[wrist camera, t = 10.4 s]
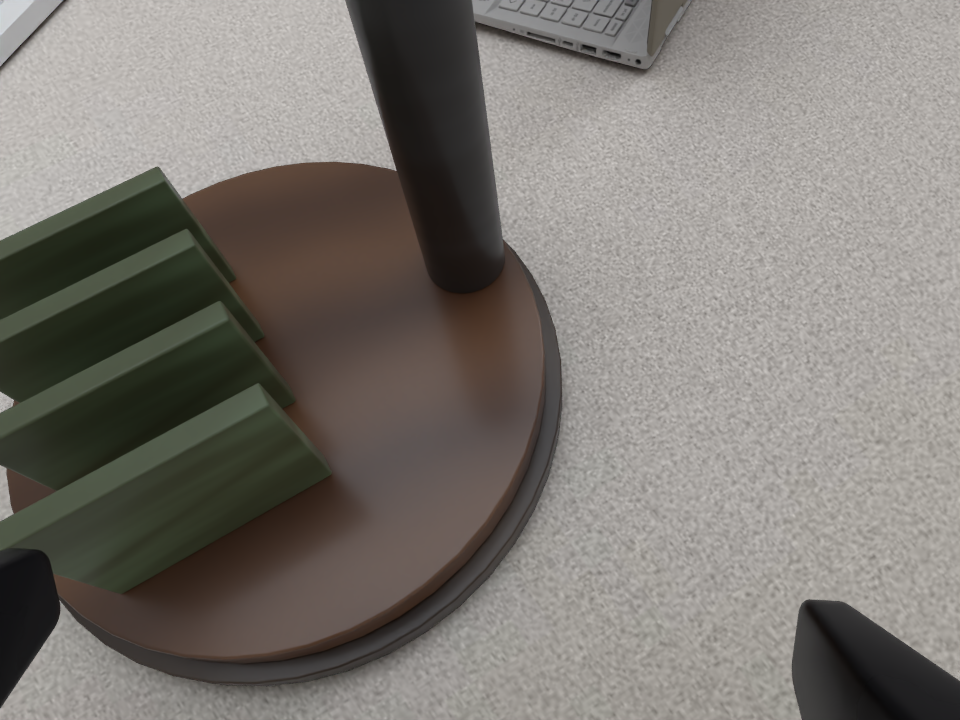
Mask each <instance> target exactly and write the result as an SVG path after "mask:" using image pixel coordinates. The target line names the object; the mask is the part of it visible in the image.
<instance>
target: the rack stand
mask: <svg viewBox="0 0 960 720" xmlns="http://www.w3.org/2000/svg"><path fill="white" fill-rule="evenodd" d="M506 244H507V243H506ZM507 245H508V244H507ZM508 247H509V248H510V250H511V251H512V253H513V255H514V256H515V258H516V259H517V261H518V262H519V264H520V265H521V267H522V269H523V272H524V274H525V276H526V278H527V280H528V282H529V285H530V287H531V289H532V291H533V294H534V298H535V301H536V305H537V308H538V312H539V315H540V319H541V325H542V333H543V341H544V349H545V364H546V375H545V402H544V408H543V414H542V419H541V425H540V431H539V435H538V438H537V441H536V445H535V448H534V451H533V454H532V457H531V460H530V463H529V467H528V469H527V471H526V473H525V475H524V477H523V479H522V481H521V483H520V486H519V488H518V490H517V492H516V494H515V496H514V498H513V500H512V502H511V503H510V505H509V507H508V508H507V510H506V511H505V513H504V514H503V516H502V517H501V519H500V520H499V522H498V524H497V525H496V527H495V528H494V530H493V531H492V533H491V534H490V535H489V536H488V538H487V539H486V540H485V541H484V542H483V544H482V545H481V546H480V547H479V548H478V549H477V551H476V552H475V553H474V554H473V555H472V557H471V558H470V559H469V560H468V561H467V562H466V564H465V565H464V566H462V567H461V568H460V569H459V570H458V571H457V572H456V573H455V574H454V575H453V576H452V577H450V578H449V579H448V580H447V581H446V582H445V583H444V584H443V585H442V586H441V587H440V588H438V589H437V590H436V591H435V592H434V593H433V594H431V595H430V596H428V597H427V598H425V599H424V600H423V601H421V602H420V603H418V604H417V605H416V606H414V607H413V608H411V609H410V610H409V611H407V612H406V613H404V614H403V615H401V616H400V617H398V618H396V619H394V620H393V621H391V622H389V623H387V624H385V625H383V626H381V627H379V628H377V629H376V630H374V631H372V632H370V633H368V634H366V635H364V636H362V637H360V638H357V639H354V640H352V641H349V642H346V643H344V644H341V645H338V646H336V647H333V648H330V649H328V650H325V651H322V652H317V653H313V654H309V655H304V656H300V657H295V658H291V659H287V660H282V661H270V662H257V663H245V664H238V663H223V662H208V661H199V660H194V659H189V658H183V657H179V656H175V655H170V654H166V653H161V652H157V651H153V650H148V649H145V648H143V647H140V646H138V645H135V644H133V643H130V642H128V641H126V640H123V639H121V638H118V637H116V636H113V635H111V634H110V633H108V632H107V631H105V630H103V629H102V628H100V627H99V626H97V625H95V624H94V623H92V622H91V621H89V620H88V619H86V618H84V617H83V616H81V615H80V614H79V613H78V612H77V611H76V610H75V609H74V608H73V607H72V606H70V605H69V604H68V603H67V602H66V601H65V600H64V599H63V598H62V597H61V596H60V595H58V597H59V600H60V601H61V602H62V603H63V605H64V606H65V607H66V608H67V609H68V611H69V612H70V613H71V614H72V615H73V617H74V618H75V619H76V620H77V621H78V622H79V623H80V624H81V625H82V626H84V627H85V628H86V629H87V630H88V631H90V632H91V633H92V634H93V635H94V636H95V637H97V638H98V639H99V640H100V641H101V642H103V643H104V644H105V645H107V646H109V647H110V648H112V649H114V650H116V651H117V652H119V653H121V654H123V655H124V656H126V657H128V658H129V659H131V660H133V661H135V662H136V663H139V664H142V665H144V666H147V667H150V668H153V669H155V670H158V671H161V672H164V673H166V674H169V675H172V676H176V677H181V678H187V679H192V680H197V681H203V682H208V683H214V684H222V685H239V686H273V685H282V684H290V683H299V682H307V681H311V680H315V679H319V678H323V677H326V676H330V675H334V674H338V673H341V672H345V671H349V670H351V669H354V668H356V667H358V666H361V665H363V664H366V663H368V662H370V661H373V660H375V659H378V658H380V657H382V656H385V655H387V654H389V653H391V652H393V651H394V650H396V649H398V648H400V647H401V646H403V645H405V644H406V643H408V642H410V641H412V640H413V639H415V638H417V637H418V636H420V635H422V634H424V633H425V632H427V631H428V630H429V629H431V628H432V627H433V626H435V625H436V624H437V623H438V622H440V621H441V620H442V619H444V618H445V617H446V616H448V615H449V614H450V613H451V612H453V611H454V610H455V609H457V608H458V607H459V606H460V605H461V604H462V603H463V602H464V601H465V600H466V599H467V598H468V597H469V596H470V595H471V594H472V593H473V592H474V591H475V590H476V589H477V588H478V587H479V586H480V585H481V584H482V583H483V582H484V581H485V580H486V579H487V578H488V577H489V576H490V575H491V574H492V573H493V571H494V570H495V569H496V567H497V566H498V565H499V563H500V562H501V561H502V560H503V558H504V557H505V556H506V554H507V553H508V552H509V550H510V549H511V548H512V547H513V545H514V544H515V542H516V541H517V539H518V537H519V535H520V534H521V532H522V530H523V529H524V527H525V525H526V523H527V522H528V520H529V518H530V517H531V515H532V513H533V511H534V510H535V507H536V505H537V502H538V500H539V498H540V495H541V493H542V490H543V488H544V486H545V483H546V481H547V478H548V476H549V473H550V469H551V465H552V461H553V457H554V454H555V450H556V446H557V442H558V436H559V428H560V419H561V411H562V380H561V359H560V353H559V347H558V342H557V336H556V331H555V327H554V324H553V321H552V318H551V316H550V313H549V310H548V307H547V304H546V301H545V299H544V297H543V295H542V293H541V291H540V289H539V287H538V285H537V284H536V282H535V280H534V278H533V276H532V274H531V273H530V271H529V270H528V269H527V267H526V266H525V265H524V263H523V262H522V260H521V259H520V258H519V256H518V255H517V254H516V252H515V251H514V250H513V249H512V248H511V247H510V246H509V245H508Z"/></svg>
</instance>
